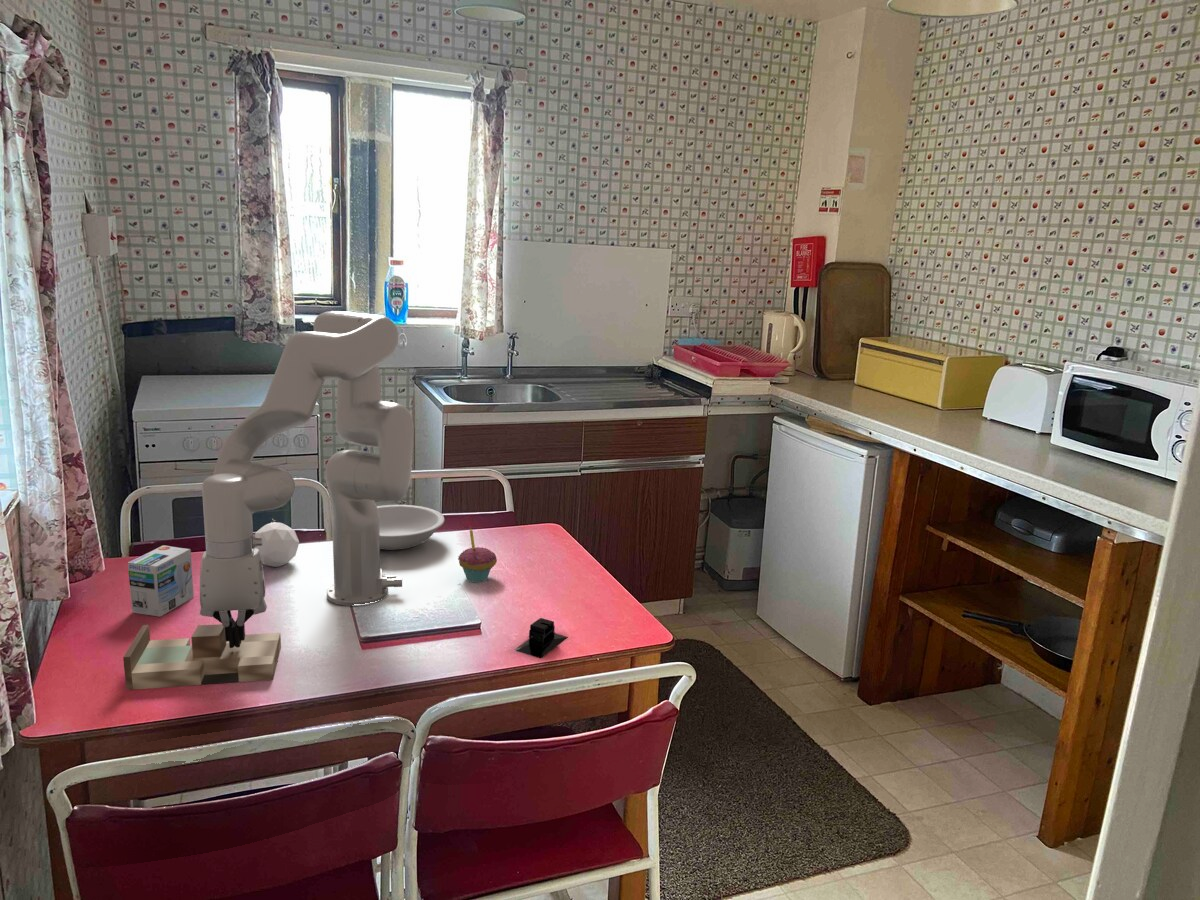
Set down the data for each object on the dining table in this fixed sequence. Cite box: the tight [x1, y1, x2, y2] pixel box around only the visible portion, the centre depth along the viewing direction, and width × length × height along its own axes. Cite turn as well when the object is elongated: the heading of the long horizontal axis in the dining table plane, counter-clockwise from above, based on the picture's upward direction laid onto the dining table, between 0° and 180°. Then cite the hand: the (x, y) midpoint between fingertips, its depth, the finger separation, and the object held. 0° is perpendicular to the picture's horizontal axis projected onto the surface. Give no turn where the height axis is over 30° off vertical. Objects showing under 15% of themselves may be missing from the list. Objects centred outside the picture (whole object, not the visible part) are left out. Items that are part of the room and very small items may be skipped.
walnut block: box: [191, 623, 226, 658], centre depth 152 cm, size 4×4×4 cm
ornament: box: [254, 518, 300, 568], centre depth 200 cm, size 10×10×15 cm
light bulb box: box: [127, 545, 195, 618], centre depth 175 cm, size 11×7×11 cm, turn 168°
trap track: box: [122, 624, 282, 691], centre depth 152 cm, size 23×12×6 cm, turn 103°
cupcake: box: [457, 526, 498, 583], centre depth 196 cm, size 9×8×12 cm
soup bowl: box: [376, 504, 445, 551], centre depth 215 cm, size 24×24×7 cm
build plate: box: [514, 617, 569, 659], centre depth 167 cm, size 13×8×5 cm, turn 153°
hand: (235, 644), depth 153 cm, fingers closed
